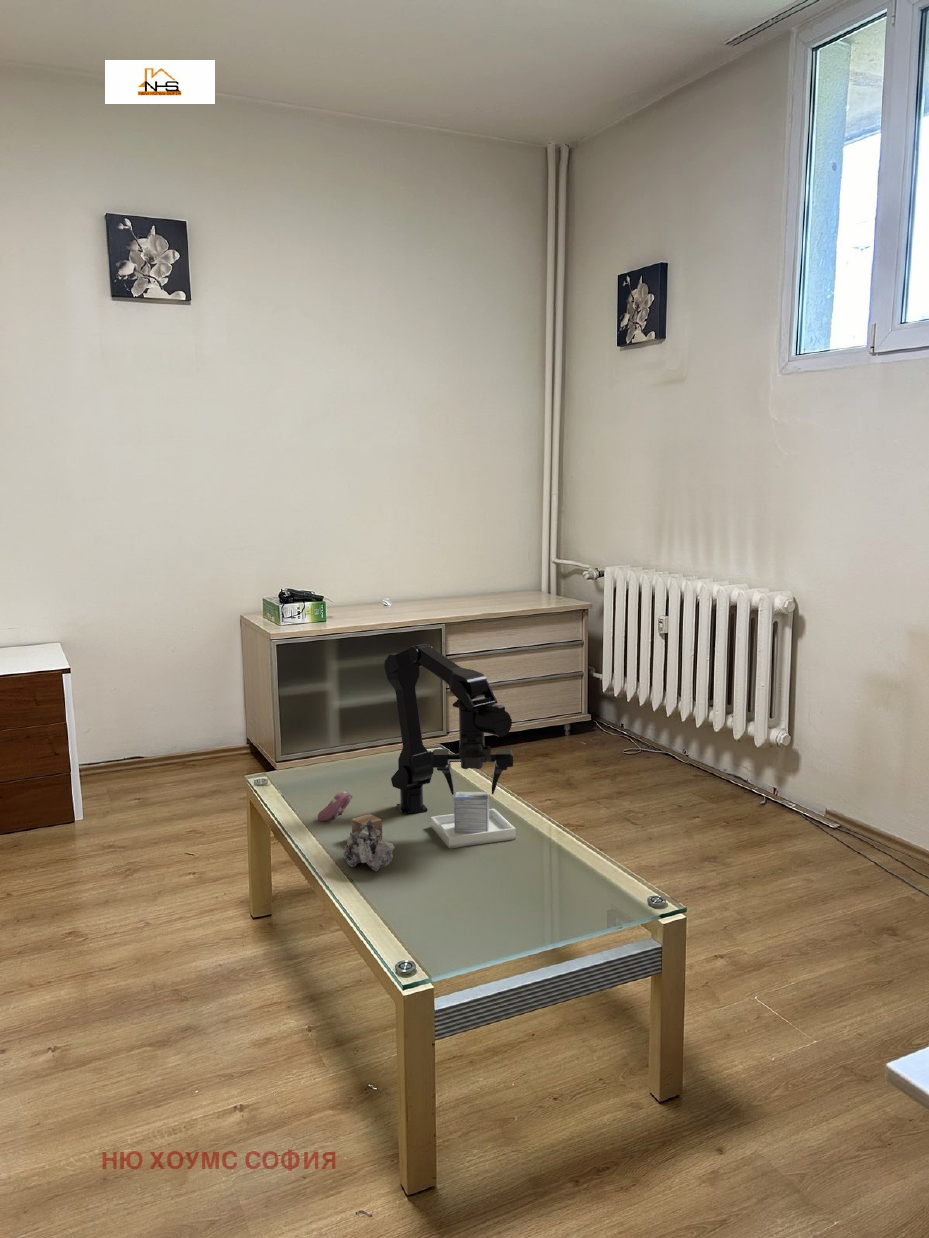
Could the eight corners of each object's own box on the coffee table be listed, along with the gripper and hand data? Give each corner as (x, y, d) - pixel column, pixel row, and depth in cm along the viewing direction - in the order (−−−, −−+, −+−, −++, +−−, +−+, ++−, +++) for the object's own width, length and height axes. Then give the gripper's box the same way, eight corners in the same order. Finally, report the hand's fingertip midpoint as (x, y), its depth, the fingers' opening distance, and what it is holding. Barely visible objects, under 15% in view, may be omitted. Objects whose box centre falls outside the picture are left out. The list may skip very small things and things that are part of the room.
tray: (431, 826, 219) (430, 816, 218) (494, 818, 224) (494, 808, 224) (449, 848, 206) (448, 837, 205) (515, 838, 211) (515, 828, 210)
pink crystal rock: (330, 829, 223) (341, 805, 221) (314, 819, 224) (325, 795, 222) (347, 815, 232) (358, 792, 230) (332, 805, 233) (343, 783, 231)
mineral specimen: (400, 857, 191) (377, 810, 193) (355, 880, 188) (333, 832, 191) (396, 863, 203) (375, 819, 206) (355, 885, 200) (334, 839, 203)
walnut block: (352, 839, 212) (351, 818, 211) (370, 834, 215) (370, 813, 214) (363, 846, 208) (363, 824, 207) (382, 840, 211) (381, 819, 210)
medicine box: (489, 827, 217) (489, 791, 215) (488, 834, 212) (487, 797, 211) (456, 826, 217) (455, 791, 216) (454, 833, 213) (453, 797, 212)
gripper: (428, 738, 203) (430, 806, 206) (513, 737, 203) (514, 805, 205) (431, 725, 214) (433, 789, 217) (512, 724, 214) (512, 789, 216)
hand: (472, 793), depth 213 cm, fingers open, 9 cm apart
